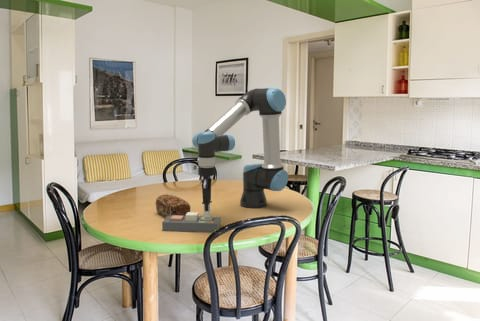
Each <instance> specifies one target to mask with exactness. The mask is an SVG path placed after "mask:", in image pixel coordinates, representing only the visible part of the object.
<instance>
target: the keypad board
mask: <svg viewBox="0 0 480 321" xmlns="http://www.w3.org/2000/svg"><path fill="white" fill-rule="evenodd" d="M203 216H204V215H203ZM203 216H202V215H198V218H199V219H198V221H186V216H184V219H183V220H182V221H170V218H171V217H172V215H168V217H167V218H165V219H164V220H163V221H162V222H161V226H162V232H163V231H164V232H190V233H193V232H194V233H195V232H197V233H215V232H214V231H215V230H217V229H219V230H220V227H221V225H222V224H221V222H222V221H221V216H213V221H207V222H206V221H201V218H202V217H203Z"/></svg>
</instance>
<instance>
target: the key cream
mask: <svg viewBox="0 0 480 321" xmlns="http://www.w3.org/2000/svg"><path fill="white" fill-rule="evenodd" d="M185 216H186V221H198V219H199V218H198V216H199V211H198V212H196V211H190V212H188V213H187V214H186V215H185Z"/></svg>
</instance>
